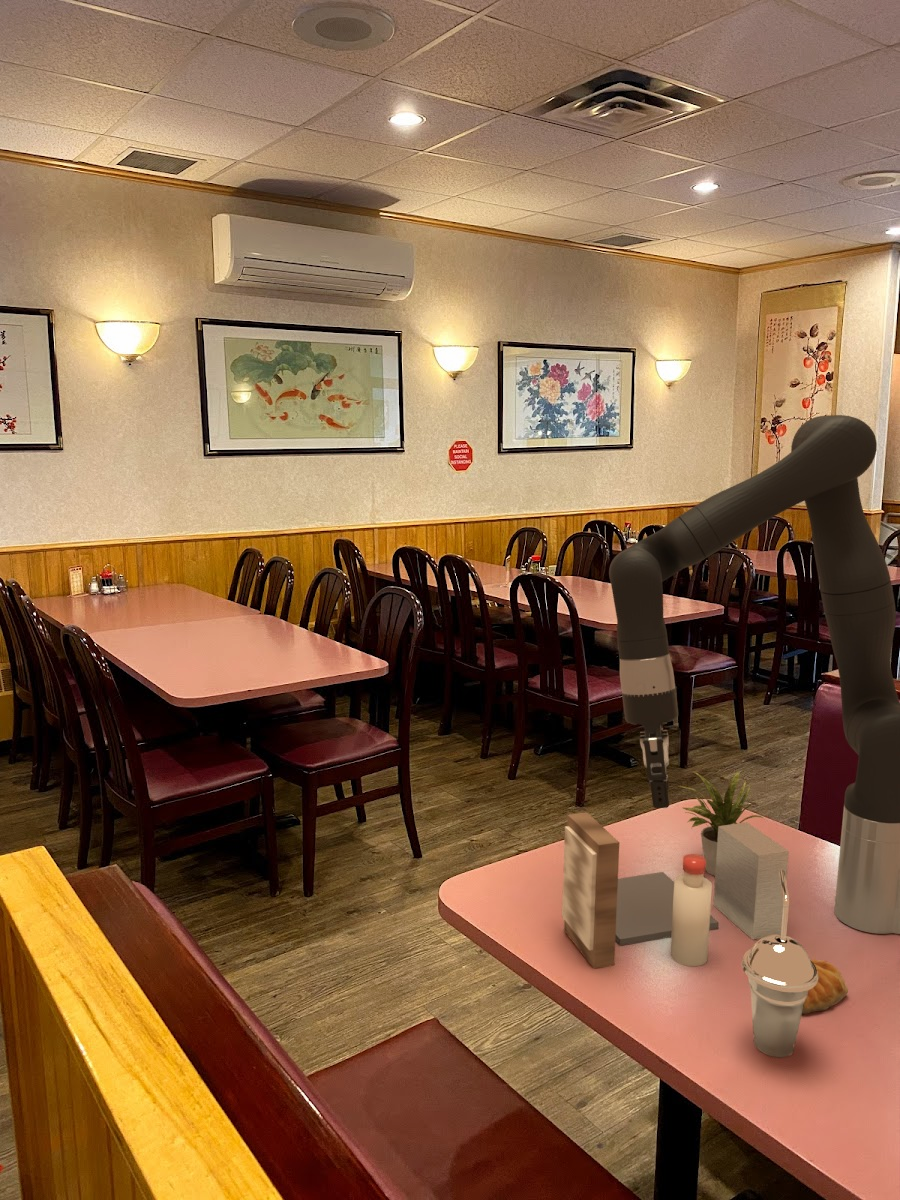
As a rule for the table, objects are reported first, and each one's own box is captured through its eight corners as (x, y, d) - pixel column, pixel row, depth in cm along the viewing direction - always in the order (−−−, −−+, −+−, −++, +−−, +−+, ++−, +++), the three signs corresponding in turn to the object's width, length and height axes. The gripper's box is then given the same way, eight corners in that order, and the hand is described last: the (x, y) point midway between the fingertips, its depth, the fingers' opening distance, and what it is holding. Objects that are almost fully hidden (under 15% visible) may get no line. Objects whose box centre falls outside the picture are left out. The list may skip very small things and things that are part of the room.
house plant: (685, 840, 162) (690, 753, 159) (767, 856, 157) (774, 766, 153) (667, 875, 150) (672, 781, 147) (755, 894, 144) (762, 796, 141)
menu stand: (560, 930, 133) (563, 815, 130) (582, 927, 134) (586, 812, 131) (590, 969, 124) (594, 845, 121) (614, 964, 125) (619, 842, 122)
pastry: (813, 1026, 113) (815, 998, 112) (763, 1001, 118) (765, 973, 117) (850, 997, 119) (853, 970, 118) (802, 974, 124) (804, 948, 123)
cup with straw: (724, 1046, 109) (734, 891, 105) (755, 1010, 115) (766, 863, 112) (795, 1080, 103) (809, 917, 99) (823, 1040, 110) (837, 886, 106)
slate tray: (572, 891, 145) (572, 885, 144) (662, 877, 149) (662, 871, 149) (619, 945, 130) (620, 939, 129) (718, 928, 134) (718, 922, 134)
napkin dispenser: (713, 905, 141) (718, 826, 138) (741, 900, 142) (747, 822, 140) (752, 939, 131) (758, 855, 129) (782, 934, 133) (788, 850, 130)
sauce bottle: (710, 951, 128) (716, 855, 126) (703, 970, 124) (709, 871, 121) (674, 942, 130) (679, 848, 128) (666, 960, 126) (671, 863, 123)
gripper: (675, 693, 123) (689, 812, 123) (674, 677, 137) (686, 783, 137) (619, 698, 124) (633, 815, 125) (623, 681, 138) (636, 787, 139)
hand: (661, 798), depth 131 cm, fingers open, 8 cm apart
